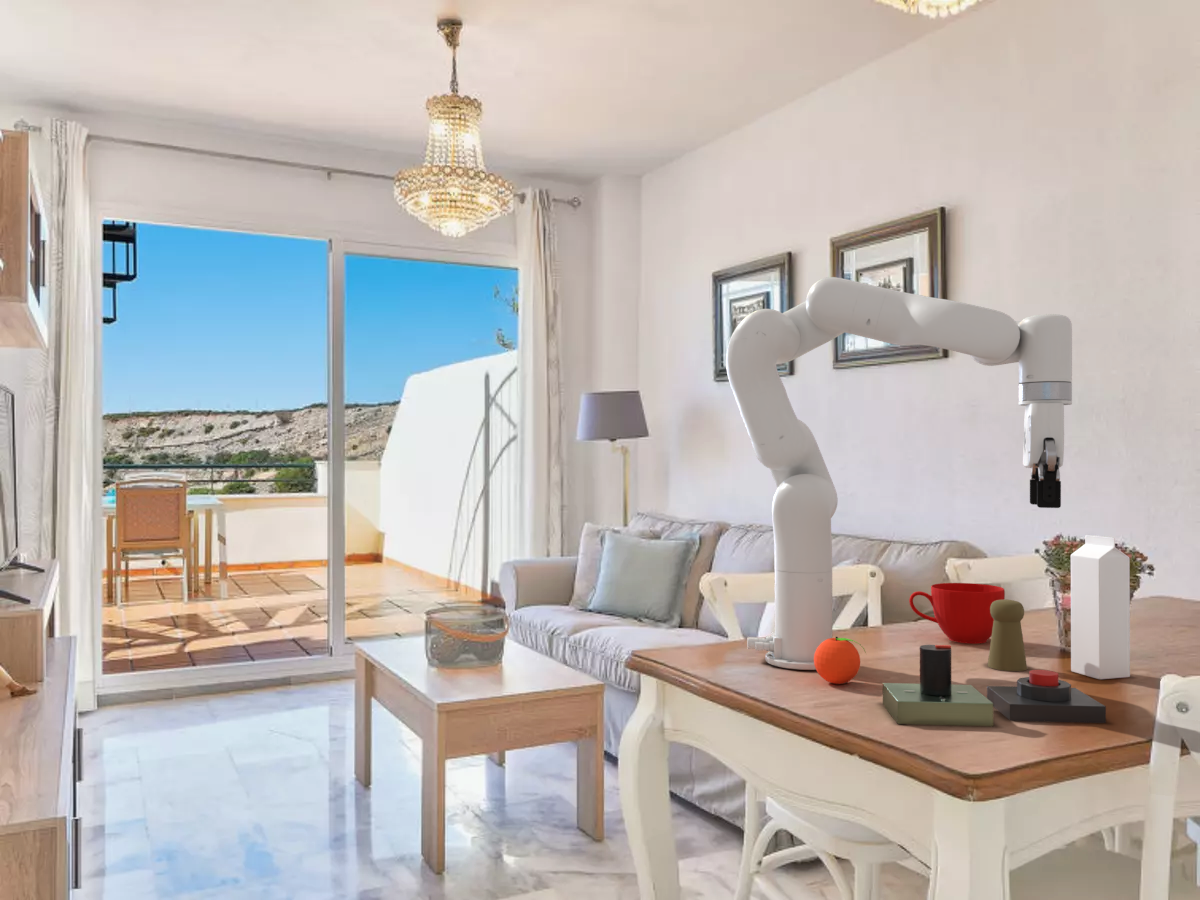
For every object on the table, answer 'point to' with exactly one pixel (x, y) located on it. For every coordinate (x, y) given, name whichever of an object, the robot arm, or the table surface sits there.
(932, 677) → the cylinder
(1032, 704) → the switch block
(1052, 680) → the button
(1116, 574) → the milk
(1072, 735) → the table surface
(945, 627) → the ceramic cup
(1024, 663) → the cork
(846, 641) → the clementine
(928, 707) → the dial panel
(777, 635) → the robot arm
